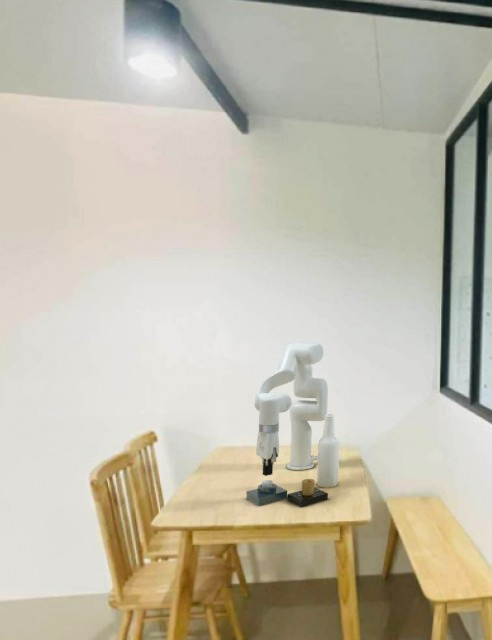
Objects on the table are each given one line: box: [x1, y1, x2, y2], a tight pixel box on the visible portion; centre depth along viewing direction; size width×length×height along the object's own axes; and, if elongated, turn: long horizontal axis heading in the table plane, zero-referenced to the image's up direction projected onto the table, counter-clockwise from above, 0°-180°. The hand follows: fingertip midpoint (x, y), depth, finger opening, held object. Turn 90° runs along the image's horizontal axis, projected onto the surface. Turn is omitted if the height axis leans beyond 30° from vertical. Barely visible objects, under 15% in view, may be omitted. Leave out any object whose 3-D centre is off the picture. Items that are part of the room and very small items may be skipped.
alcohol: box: [316, 413, 340, 489], centre depth 217 cm, size 9×9×30 cm
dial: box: [301, 478, 316, 496], centre depth 198 cm, size 5×5×5 cm
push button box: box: [246, 482, 288, 507], centre depth 199 cm, size 12×10×5 cm
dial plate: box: [287, 486, 329, 508], centre depth 198 cm, size 12×10×3 cm
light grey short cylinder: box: [261, 479, 274, 488], centre depth 199 cm, size 4×4×2 cm
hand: (267, 474), depth 199 cm, fingers closed
